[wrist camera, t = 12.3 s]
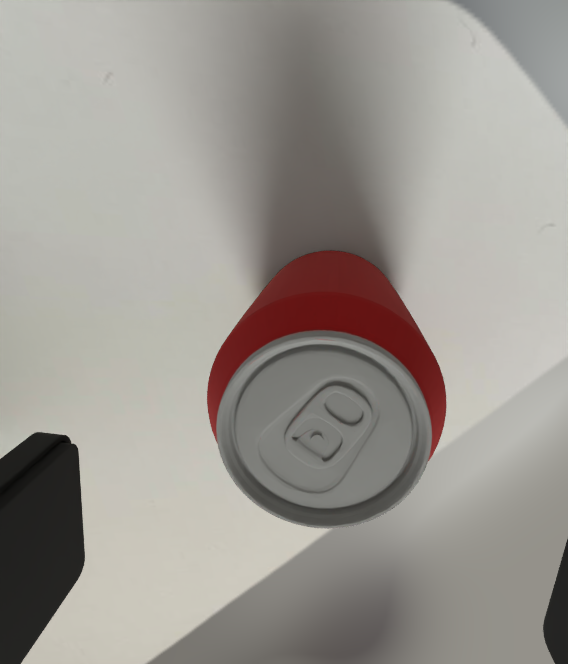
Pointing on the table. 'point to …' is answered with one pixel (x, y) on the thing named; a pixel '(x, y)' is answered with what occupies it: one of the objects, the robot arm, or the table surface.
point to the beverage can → (326, 395)
